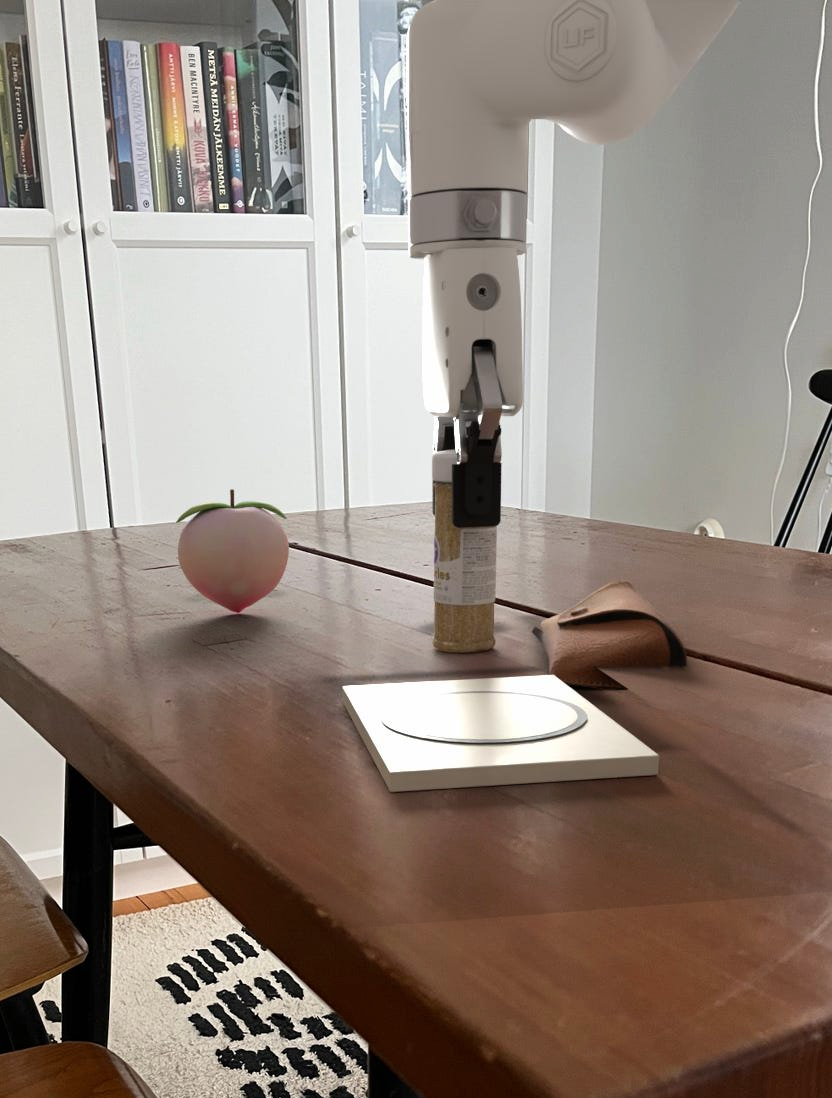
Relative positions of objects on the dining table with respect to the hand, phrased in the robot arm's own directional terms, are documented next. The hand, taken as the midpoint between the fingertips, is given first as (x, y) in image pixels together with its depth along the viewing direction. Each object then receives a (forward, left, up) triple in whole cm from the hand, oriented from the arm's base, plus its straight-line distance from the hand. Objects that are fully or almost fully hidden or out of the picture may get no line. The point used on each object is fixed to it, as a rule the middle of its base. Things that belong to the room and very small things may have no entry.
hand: (465, 518), depth 87 cm
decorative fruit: (+15, -19, -9) cm, 26 cm away
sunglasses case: (-8, +6, -9) cm, 14 cm away
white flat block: (+4, +23, -9) cm, 25 cm away
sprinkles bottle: (0, 0, -9) cm, 9 cm away
